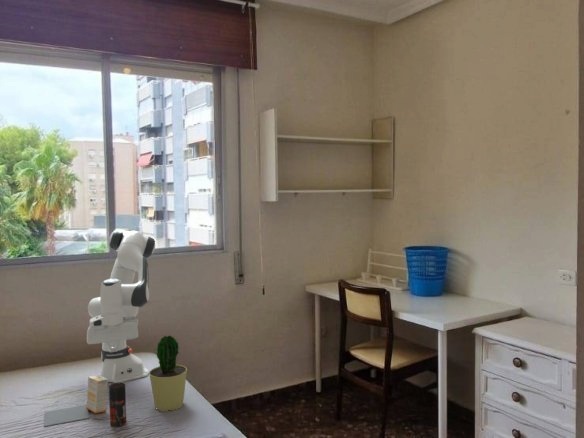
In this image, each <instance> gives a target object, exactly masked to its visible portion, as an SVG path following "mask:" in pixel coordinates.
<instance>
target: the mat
mask: <svg viewBox="0 0 584 438" xmlns="http://www.w3.org/2000/svg"><path fill="white" fill-rule="evenodd" d="M86 407H87V404H83V405H82V404H81V405H77V406H71V407H70V406H69V407H65V408H60V409H59V408H58V409H55V410H54V409H53V410H49V411H44V419H43V420H44V421H43V428H47V427H51V426H57V425H63V424H67V423H74V422H78V421H83V420H89V419H90V413H89V409H87V408H86Z"/></svg>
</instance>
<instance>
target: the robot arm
mask: <svg viewBox="0 0 584 438" xmlns="http://www.w3.org/2000/svg"><path fill="white" fill-rule="evenodd" d="M108 238H109V239H108V243H109V245H108V246H109V247H110V248H111V250H114V251H117V253H116V259H115V261H114V265H113V266H112V267H113V268H112V270H111V274H110V277H109V278H107V279H105V280H103V281H101V285H100V293H99V296H98V297H94V298H92V299H91V300H90V301H89V303H88V305H87V312H88V315H89V316H90V319H89V323H88V324H89V326H88V328H87V331H86V343H87V344H88V345H96V344H101V347H102V348H101V352H100V354H101V355H100V357H101V358H100V359H101V361H102V362H101V371H100V376H102V377H104V378H106V379H108V383H112V384H114V383H125V382H129V381H132V380H137V379H141V378H145V377H147V376H148V375H149V369H148V368H147V367H145V366H144V363H143V361H142V360H141V358H140V357H138V356H136V355H135V354H133V349H132V348H131V347H130V346H129V345H127V341H128V340H129V341H130V340H137V339H138V337H139V329H138V326H139V318H138V317H136V316H137V315H138V314H139V308H142V307H144V306H145V305H146V304H147V303H148V302H149V301H150V290H149V264H148V263H149V262H148V258H150V257H151V256H152V255H153V254H154V252H155V250H156V240H155V238H153V237H151V236H147V235H145V234H142V233H141V232H140V231H136V230H131V231H129V230H123V229H120V228H118V229H117V228H116V229H115V230H113V232H111V234H110V235H109V237H108ZM136 272H137V275H138V277H137V278H138V279H137V281H138V282H135V283H134V279H135V276H136Z"/></svg>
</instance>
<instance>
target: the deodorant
mask: <svg viewBox="0 0 584 438" xmlns="http://www.w3.org/2000/svg"><path fill="white" fill-rule="evenodd" d="M126 394H127V393H126V384H125V382H120V383H112V384H110V385H109V386H108V398H109V399H108V403H109V406H108V407H109V425H110V427H112V428H120V427H123V426H125V425H126V424H127V401H126V397H127V396H126Z"/></svg>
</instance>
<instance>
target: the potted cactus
mask: <svg viewBox="0 0 584 438" xmlns="http://www.w3.org/2000/svg"><path fill="white" fill-rule="evenodd" d="M156 346H157V347H155V350H156V358H157V361H156V362H158V364H159V366H156V367H154V368H152V369H150V370H149V371H148V375H149V380H150V386H151V389H152V395H153V401H154V406H155V409H156V408H157V409H159V410H164V411H163V412H169V411H168V410H173V411H176V410H178V408H179V409H181V408H182V406H183V405H184V401H185V391H186V381H187V373H188V368H187V366H184V365H181V364H177V362H178V361H177V359H178V355H179V354H181V352H179V349H180V348H181V347H179V341H177V339H175V336H174V335H173V336H172V335H164V336H162V337H161V339H160V340H159V341H158V343H157V345H156ZM157 409H156V410H157ZM175 409H176V410H175ZM159 410H158V411H159Z"/></svg>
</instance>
